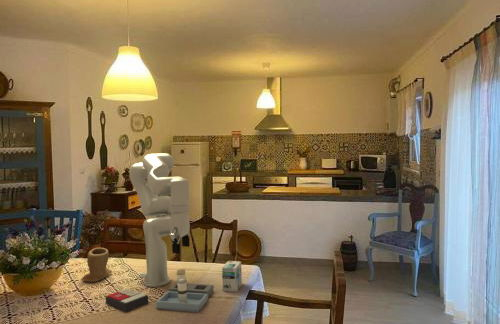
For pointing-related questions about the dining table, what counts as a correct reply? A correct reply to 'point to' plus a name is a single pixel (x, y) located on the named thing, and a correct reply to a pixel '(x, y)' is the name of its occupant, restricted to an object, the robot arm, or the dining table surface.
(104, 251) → the stone cup
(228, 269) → the light bulb box
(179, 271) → the fuse
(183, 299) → the cylinder
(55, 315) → the dining table surface
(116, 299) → the calculator
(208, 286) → the block
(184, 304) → the parts tray
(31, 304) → the dining table surface
